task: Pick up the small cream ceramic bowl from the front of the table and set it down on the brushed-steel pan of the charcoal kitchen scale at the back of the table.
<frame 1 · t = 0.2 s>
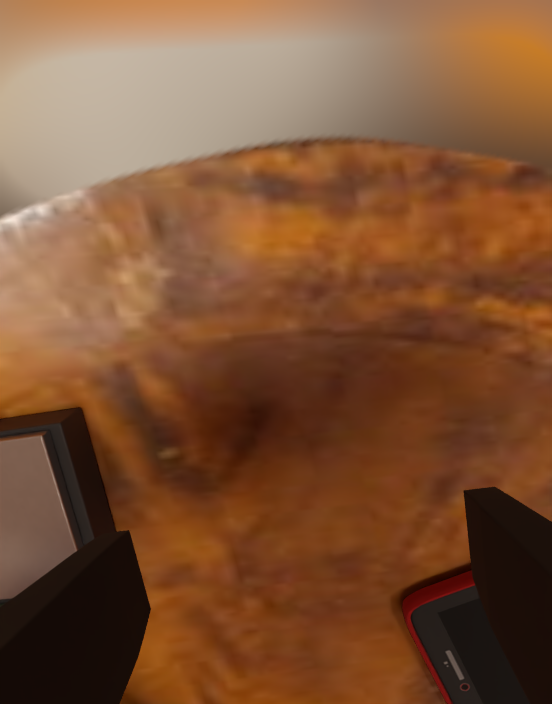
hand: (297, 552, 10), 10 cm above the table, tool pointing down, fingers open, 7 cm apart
scale: (4, 513, 22), on the table
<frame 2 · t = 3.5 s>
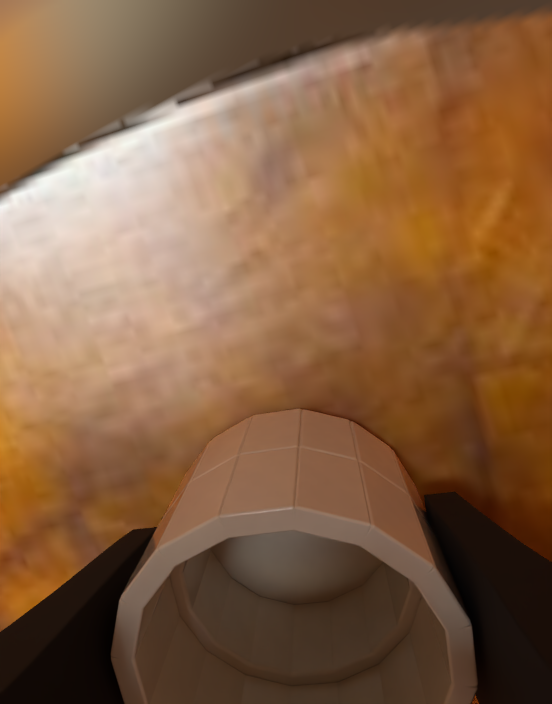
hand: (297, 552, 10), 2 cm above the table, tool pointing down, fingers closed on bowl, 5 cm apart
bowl: (298, 511, 12), on the table, touching gripper
when the fingers open (4 cm above the table, at t = 9.4 s): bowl stays where it is, resting on scale.
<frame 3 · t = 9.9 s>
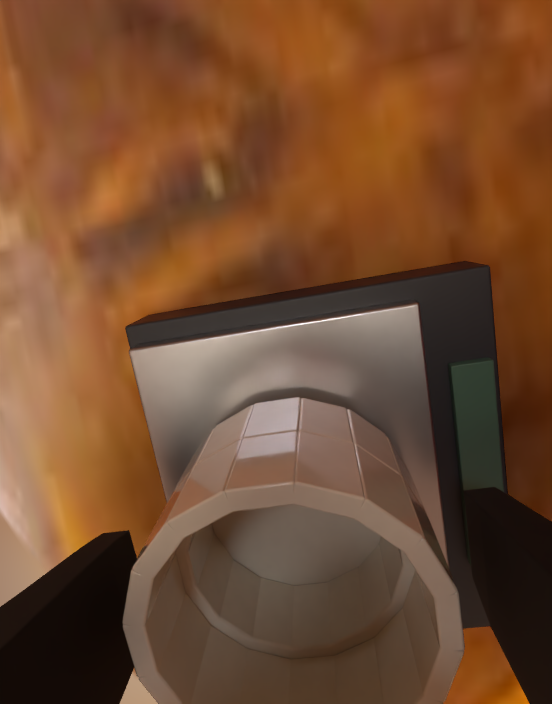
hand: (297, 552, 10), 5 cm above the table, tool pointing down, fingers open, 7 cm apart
scale: (328, 453, 15), on the table
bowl: (297, 496, 12), point 2 cm above the table, touching scale
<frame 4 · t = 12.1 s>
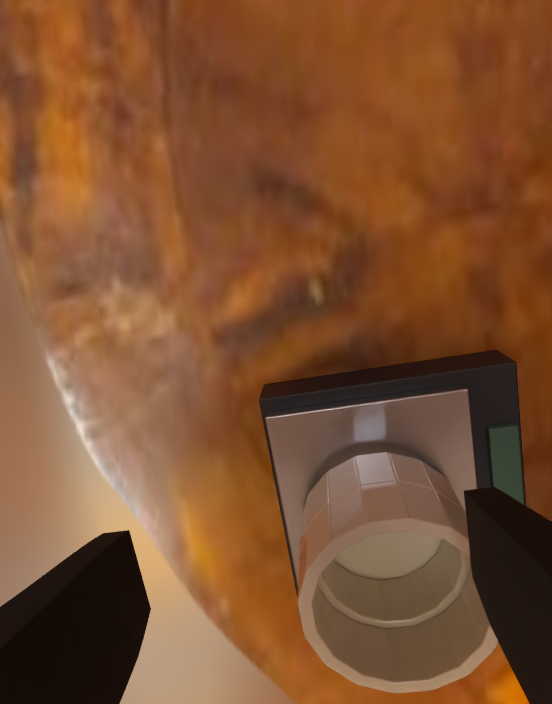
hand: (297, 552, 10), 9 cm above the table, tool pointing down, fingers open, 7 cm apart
scale: (393, 483, 20), on the table
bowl: (379, 517, 18), point 2 cm above the table, touching scale
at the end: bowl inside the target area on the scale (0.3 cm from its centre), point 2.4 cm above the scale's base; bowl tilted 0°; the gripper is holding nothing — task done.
